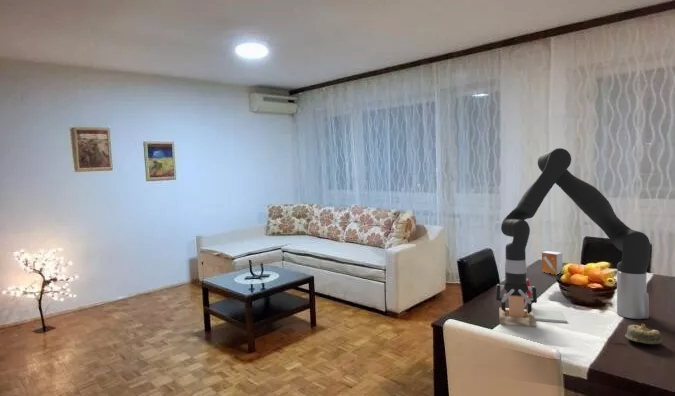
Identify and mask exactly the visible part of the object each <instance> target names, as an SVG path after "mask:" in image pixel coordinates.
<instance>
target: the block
mask: <svg viewBox="0 0 675 396" xmlns="http://www.w3.org/2000/svg"><path fill="white" fill-rule="evenodd" d="M508 308H509V316H508V317H521V318H525V317H524V296H517V295H510V296H509V298H508Z"/></svg>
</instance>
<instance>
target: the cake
mask: <svg viewBox="0 0 675 396" xmlns="http://www.w3.org/2000/svg"><path fill="white" fill-rule="evenodd" d="M624 337H625V338H626V339H628V340H631V341H633V342H636V343H642V344H646V345H660V344H662V343H663V340H662V334H661V332H660V330H657V329H649V328H647V326H646V324H645V323H642V324H641V325H639V324H630V325H627V330H626V334H624Z"/></svg>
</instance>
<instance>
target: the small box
mask: <svg viewBox="0 0 675 396" xmlns="http://www.w3.org/2000/svg"><path fill="white" fill-rule="evenodd" d="M561 269H563V252H559V251H551V250H545V251H543V252H541V273H544V272H545V274H549V273H551V274H550V275H554V274H555V275H554V276H558V275H557V274H559V273H560V271H561ZM559 275H560V274H559Z"/></svg>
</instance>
